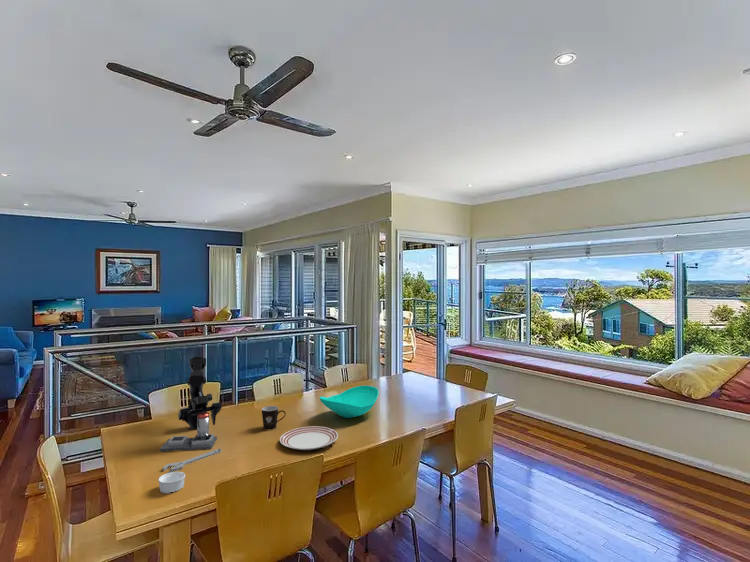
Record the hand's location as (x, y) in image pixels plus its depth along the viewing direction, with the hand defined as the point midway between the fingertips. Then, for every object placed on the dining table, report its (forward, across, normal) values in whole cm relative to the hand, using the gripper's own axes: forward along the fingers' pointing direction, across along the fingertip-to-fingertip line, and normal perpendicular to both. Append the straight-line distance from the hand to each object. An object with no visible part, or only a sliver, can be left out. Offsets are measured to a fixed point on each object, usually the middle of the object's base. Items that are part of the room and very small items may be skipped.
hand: (204, 426), depth 190 cm
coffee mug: (+5, +35, +8) cm, 36 cm away
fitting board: (+3, -5, +9) cm, 11 cm away
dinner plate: (+25, +40, -12) cm, 49 cm away
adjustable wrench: (+17, -8, -4) cm, 20 cm away
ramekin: (+30, -21, -18) cm, 41 cm away
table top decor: (+11, +78, +1) cm, 79 cm away
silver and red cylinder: (+4, 0, +6) cm, 8 cm away
